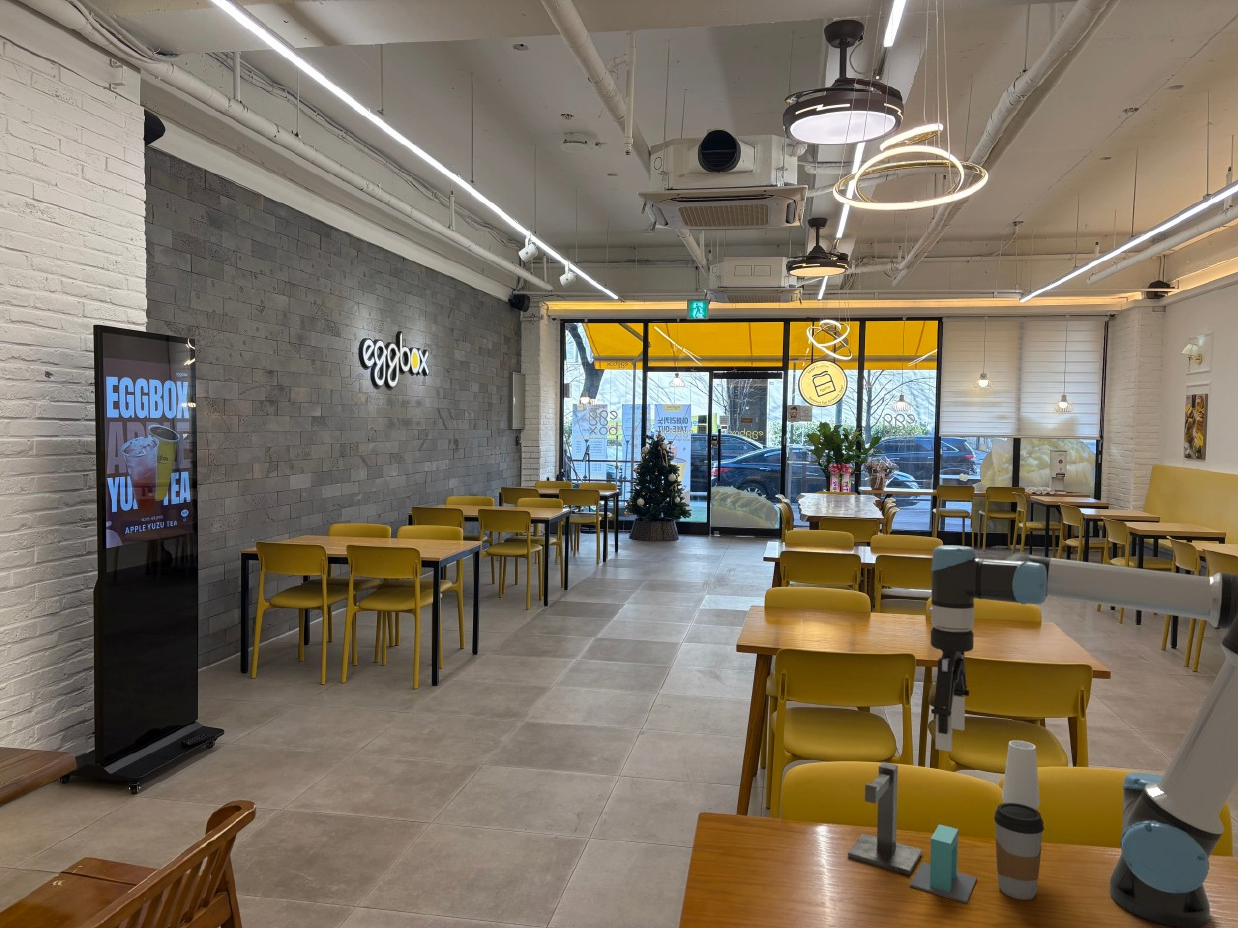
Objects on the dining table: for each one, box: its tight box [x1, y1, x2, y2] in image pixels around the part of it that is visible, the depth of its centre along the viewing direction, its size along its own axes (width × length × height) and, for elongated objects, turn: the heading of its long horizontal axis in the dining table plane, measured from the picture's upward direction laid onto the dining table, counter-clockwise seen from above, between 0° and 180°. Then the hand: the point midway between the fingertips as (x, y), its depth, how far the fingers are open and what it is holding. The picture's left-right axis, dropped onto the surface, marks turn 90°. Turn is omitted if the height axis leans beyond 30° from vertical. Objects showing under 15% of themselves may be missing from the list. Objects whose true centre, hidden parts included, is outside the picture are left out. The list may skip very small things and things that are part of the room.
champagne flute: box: [1001, 740, 1041, 811], centre depth 160 cm, size 7×7×24 cm
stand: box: [847, 761, 923, 876], centre depth 160 cm, size 12×16×18 cm
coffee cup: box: [993, 802, 1045, 901], centre depth 150 cm, size 8×8×15 cm
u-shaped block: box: [929, 824, 959, 892], centre depth 153 cm, size 7×4×9 cm, turn 147°
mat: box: [909, 862, 978, 904], centre depth 153 cm, size 10×10×1 cm
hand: (950, 738), depth 153 cm, fingers open, 13 cm apart
